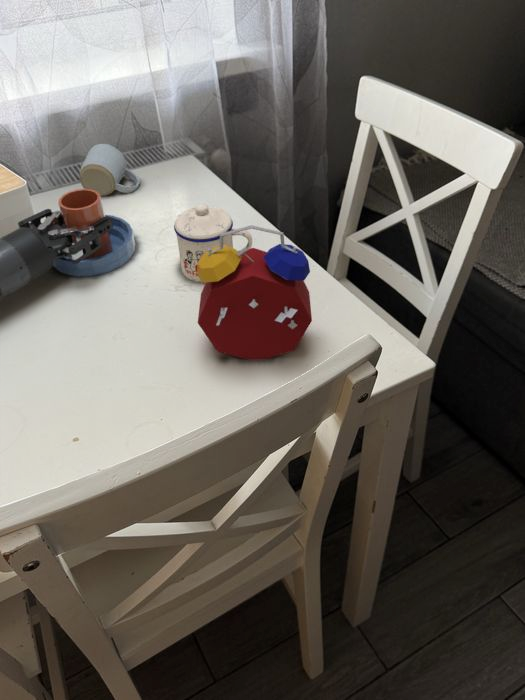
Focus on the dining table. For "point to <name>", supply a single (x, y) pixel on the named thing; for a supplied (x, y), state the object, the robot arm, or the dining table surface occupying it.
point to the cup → (84, 215)
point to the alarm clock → (254, 298)
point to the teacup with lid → (202, 235)
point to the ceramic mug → (106, 171)
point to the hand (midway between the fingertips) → (95, 214)
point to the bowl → (120, 254)
